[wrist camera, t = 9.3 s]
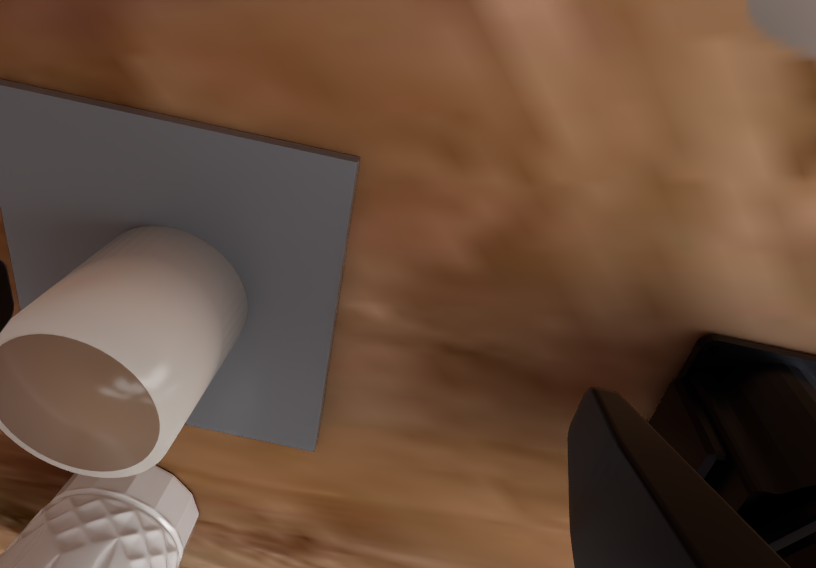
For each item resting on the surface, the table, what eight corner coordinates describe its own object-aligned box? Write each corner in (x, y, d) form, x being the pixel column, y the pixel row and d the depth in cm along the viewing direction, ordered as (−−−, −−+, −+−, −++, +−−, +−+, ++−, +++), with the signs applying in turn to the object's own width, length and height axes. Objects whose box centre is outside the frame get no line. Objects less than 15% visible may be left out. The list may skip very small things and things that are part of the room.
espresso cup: (251, 244, 21) (169, 350, 15) (242, 401, 25) (174, 531, 19) (92, 210, 21) (-51, 303, 15) (108, 372, 25) (-1, 495, 19)
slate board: (360, 157, 20) (357, 162, 19) (317, 442, 27) (314, 451, 26) (-12, 76, 19) (-25, 79, 19) (45, 384, 26) (36, 392, 26)
